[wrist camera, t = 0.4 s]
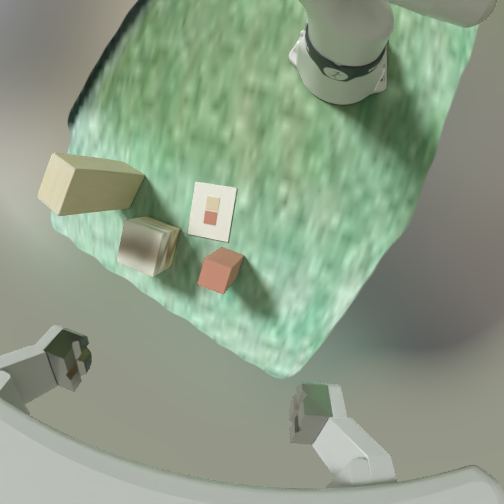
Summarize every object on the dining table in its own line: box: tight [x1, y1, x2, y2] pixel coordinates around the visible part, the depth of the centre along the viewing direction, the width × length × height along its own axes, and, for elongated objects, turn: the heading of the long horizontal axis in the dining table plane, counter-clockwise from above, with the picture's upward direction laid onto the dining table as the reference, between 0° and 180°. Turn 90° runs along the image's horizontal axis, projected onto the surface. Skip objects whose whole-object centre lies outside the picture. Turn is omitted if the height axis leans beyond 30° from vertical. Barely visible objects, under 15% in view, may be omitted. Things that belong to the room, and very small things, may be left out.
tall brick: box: [198, 247, 244, 294], centre depth 52 cm, size 4×4×10 cm
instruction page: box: [188, 182, 237, 242], centre depth 55 cm, size 10×8×1 cm
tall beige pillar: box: [38, 153, 145, 216], centre depth 47 cm, size 8×7×21 cm
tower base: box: [117, 216, 181, 277], centre depth 54 cm, size 8×8×8 cm
